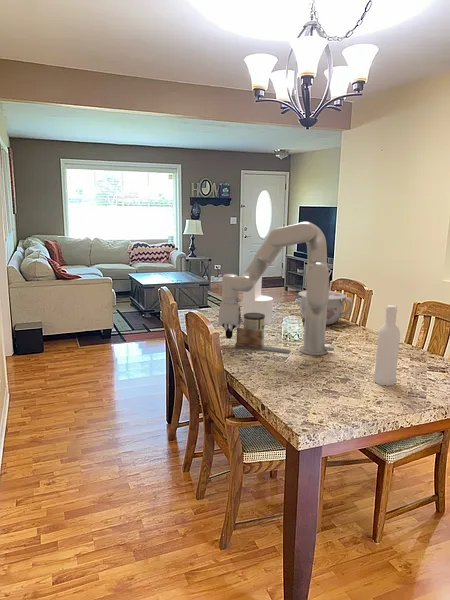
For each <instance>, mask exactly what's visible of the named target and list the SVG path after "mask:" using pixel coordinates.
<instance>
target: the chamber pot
mask: <svg viewBox="0 0 450 600" xmlns="http://www.w3.org/2000/svg"><path fill="white" fill-rule="evenodd" d="M297 295H298V296H300V297H301V299H300V301H299V308H300V309H299V310H300V313H301V315H302V317H303V319H304V320H305V312H306V289H305V290H302V291H299V292H298V293H297ZM344 302H348V303H349V308H348V309H347V310H346V311H344V312H343V306H345V305H344ZM353 302H354V301H352V298H350V297H347V295H346V294H345V293H341V292H339V291H334V290H331V289H329V300H328V303H327V316H326V326H329V325H332V324H335V323H336V322H337V321H339V320H340V319H341V318H342V317H343V316H345V315H346V314H348V313H350V311H352V310H353V308H354V303H353Z"/></svg>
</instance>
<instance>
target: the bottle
mask: <svg viewBox="0 0 450 600" xmlns="http://www.w3.org/2000/svg"><path fill="white" fill-rule="evenodd" d="M385 310H386V311H385V321H384V324H383V325H381V326H380V327H379V330H378V335H377V344H376V345H377V347H376V353H375V354H376V355H375V356H376V357H375V365H374V374H373V375H374V376H373V378H374V379H373V382H374V383H375V382H376V383H375V384H377V385H380V386H384V385H386V386H385V387H391V386H390V385H392V386H394V385H396V381H397V369H398V360H399V359H398V358H399V351H400V350H399V349H400V340H401V332H400V329H399V327H398V326H397V325H396V322H397V321H396V320H397V314H398V313H397V312H398V306H396V305H395V304H393V305H392V304H388V305H386V308H385Z"/></svg>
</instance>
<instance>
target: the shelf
mask: <svg viewBox="0 0 450 600" xmlns="http://www.w3.org/2000/svg"><path fill="white" fill-rule="evenodd" d="M236 345H239V346H247V347H256V348H261V347H262V346H263V345H262V330H253V329H244V327H243V328H242V327H237V328H236V343H235V346H236Z"/></svg>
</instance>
